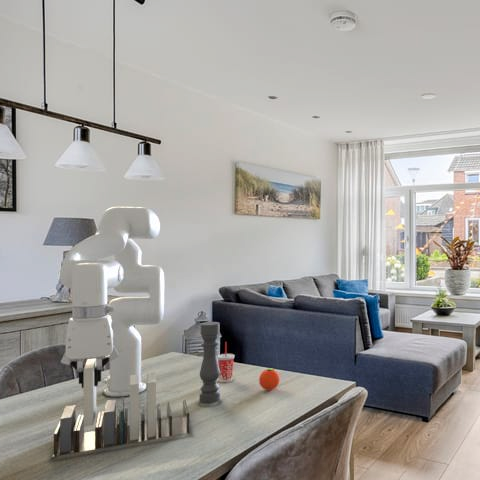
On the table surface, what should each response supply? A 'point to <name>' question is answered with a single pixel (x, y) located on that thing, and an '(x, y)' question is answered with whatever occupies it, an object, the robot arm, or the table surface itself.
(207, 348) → the candle holder
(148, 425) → the white book
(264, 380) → the clementine
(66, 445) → the grey book
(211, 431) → the table surface
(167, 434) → the book rack
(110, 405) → the grey book
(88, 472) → the table surface
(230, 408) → the table surface
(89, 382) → the white book
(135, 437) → the white book
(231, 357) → the beverage cup
